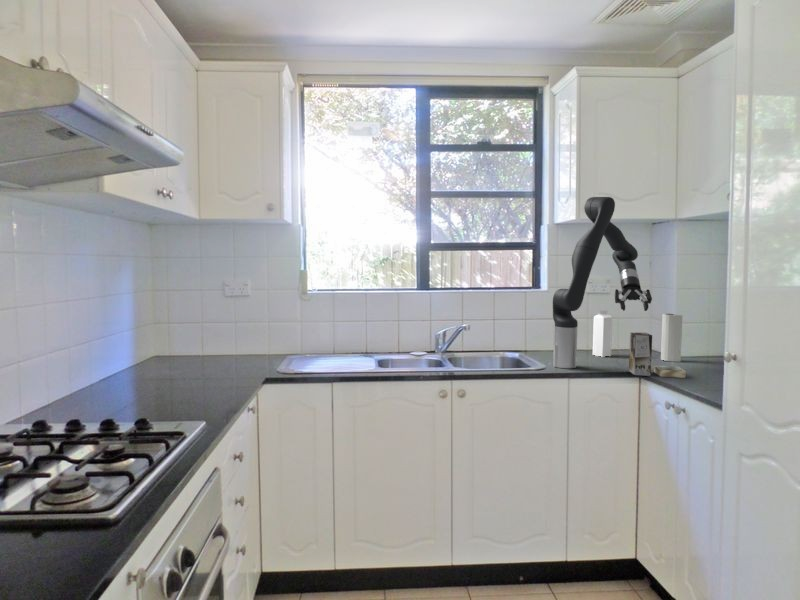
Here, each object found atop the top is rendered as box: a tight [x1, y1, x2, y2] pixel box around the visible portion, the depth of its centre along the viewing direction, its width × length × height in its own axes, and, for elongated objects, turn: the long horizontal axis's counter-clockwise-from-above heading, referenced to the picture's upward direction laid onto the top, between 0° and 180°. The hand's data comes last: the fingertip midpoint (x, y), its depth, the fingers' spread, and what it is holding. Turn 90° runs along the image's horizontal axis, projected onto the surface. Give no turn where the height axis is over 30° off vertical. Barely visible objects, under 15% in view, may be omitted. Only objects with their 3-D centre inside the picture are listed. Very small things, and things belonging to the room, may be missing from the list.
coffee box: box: [628, 332, 653, 377], centre depth 204 cm, size 9×6×16 cm
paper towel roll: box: [660, 313, 683, 363], centre depth 232 cm, size 7×6×21 cm
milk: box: [592, 309, 613, 358], centre depth 243 cm, size 6×6×22 cm
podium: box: [653, 365, 687, 379], centre depth 202 cm, size 9×9×3 cm
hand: (635, 309), depth 214 cm, fingers open, 8 cm apart
